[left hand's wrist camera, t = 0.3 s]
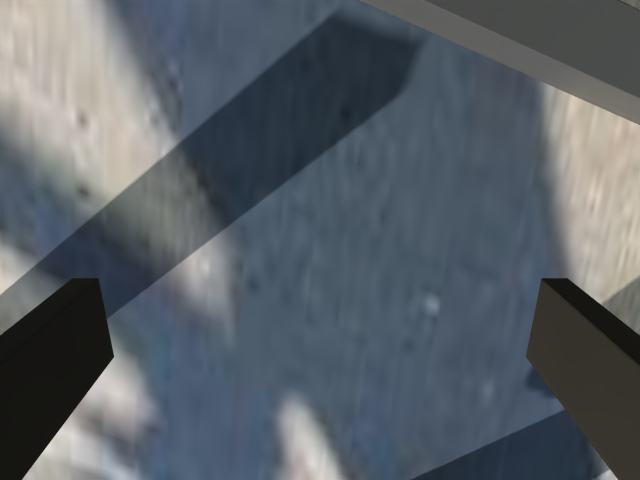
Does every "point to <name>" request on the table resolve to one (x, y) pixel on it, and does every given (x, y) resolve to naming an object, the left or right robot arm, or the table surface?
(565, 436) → the table surface
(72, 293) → the left robot arm
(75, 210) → the table surface
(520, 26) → the beam
